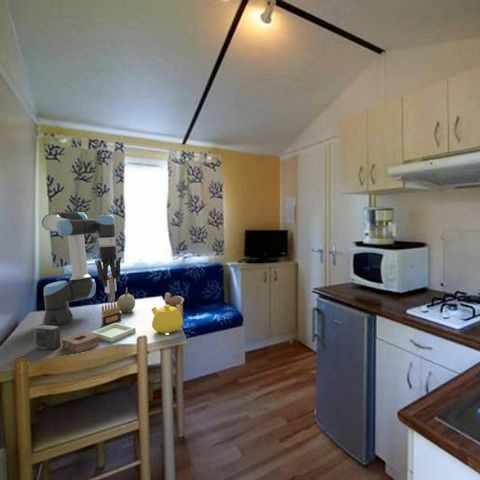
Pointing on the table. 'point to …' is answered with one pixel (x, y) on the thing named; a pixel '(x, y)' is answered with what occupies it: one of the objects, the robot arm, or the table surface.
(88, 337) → the slotted wooden block
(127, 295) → the fruit
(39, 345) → the camera
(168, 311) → the teapot
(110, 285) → the pin
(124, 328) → the tray
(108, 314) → the ammunition clip
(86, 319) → the table surface
